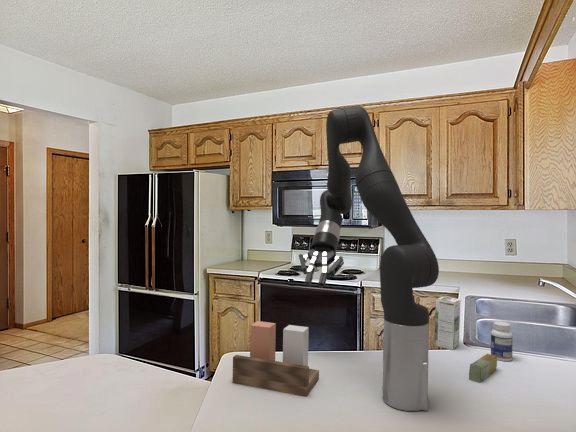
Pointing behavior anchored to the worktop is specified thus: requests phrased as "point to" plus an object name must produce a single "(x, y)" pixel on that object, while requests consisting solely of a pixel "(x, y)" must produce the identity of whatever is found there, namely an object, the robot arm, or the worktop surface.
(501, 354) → the pill bottle
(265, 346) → the orange tall block
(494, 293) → the worktop surface
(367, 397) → the worktop surface
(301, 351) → the grey rectangular block
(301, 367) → the console
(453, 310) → the syrup box
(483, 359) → the medication box
